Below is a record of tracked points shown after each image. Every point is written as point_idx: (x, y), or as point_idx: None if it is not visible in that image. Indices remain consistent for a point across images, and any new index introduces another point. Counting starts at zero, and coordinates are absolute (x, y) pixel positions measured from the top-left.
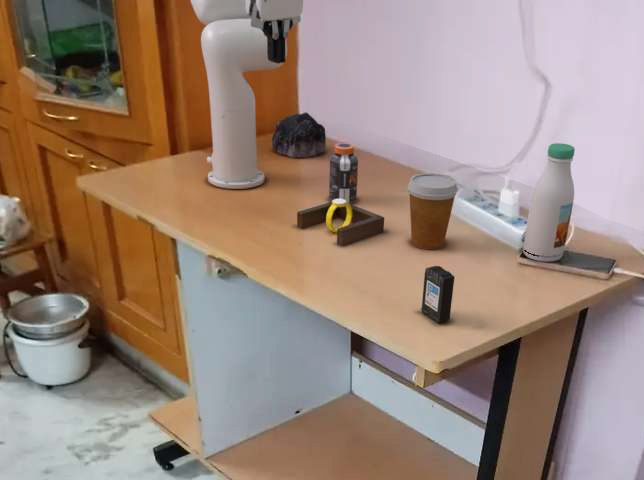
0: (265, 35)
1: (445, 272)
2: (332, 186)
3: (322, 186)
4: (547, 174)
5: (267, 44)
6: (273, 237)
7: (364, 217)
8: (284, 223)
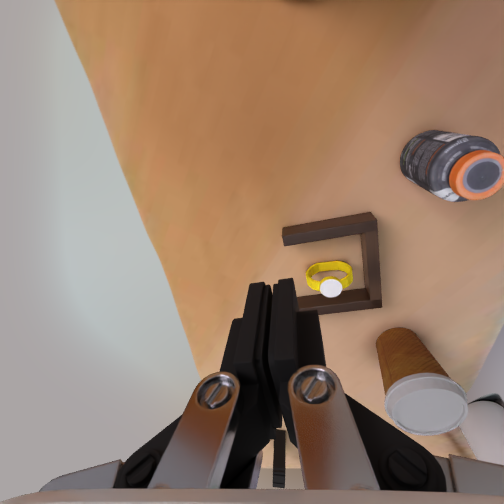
0: (202, 393)
1: (280, 484)
2: (409, 165)
3: (454, 59)
4: None
5: (223, 357)
6: (234, 244)
7: (367, 280)
8: (272, 207)
